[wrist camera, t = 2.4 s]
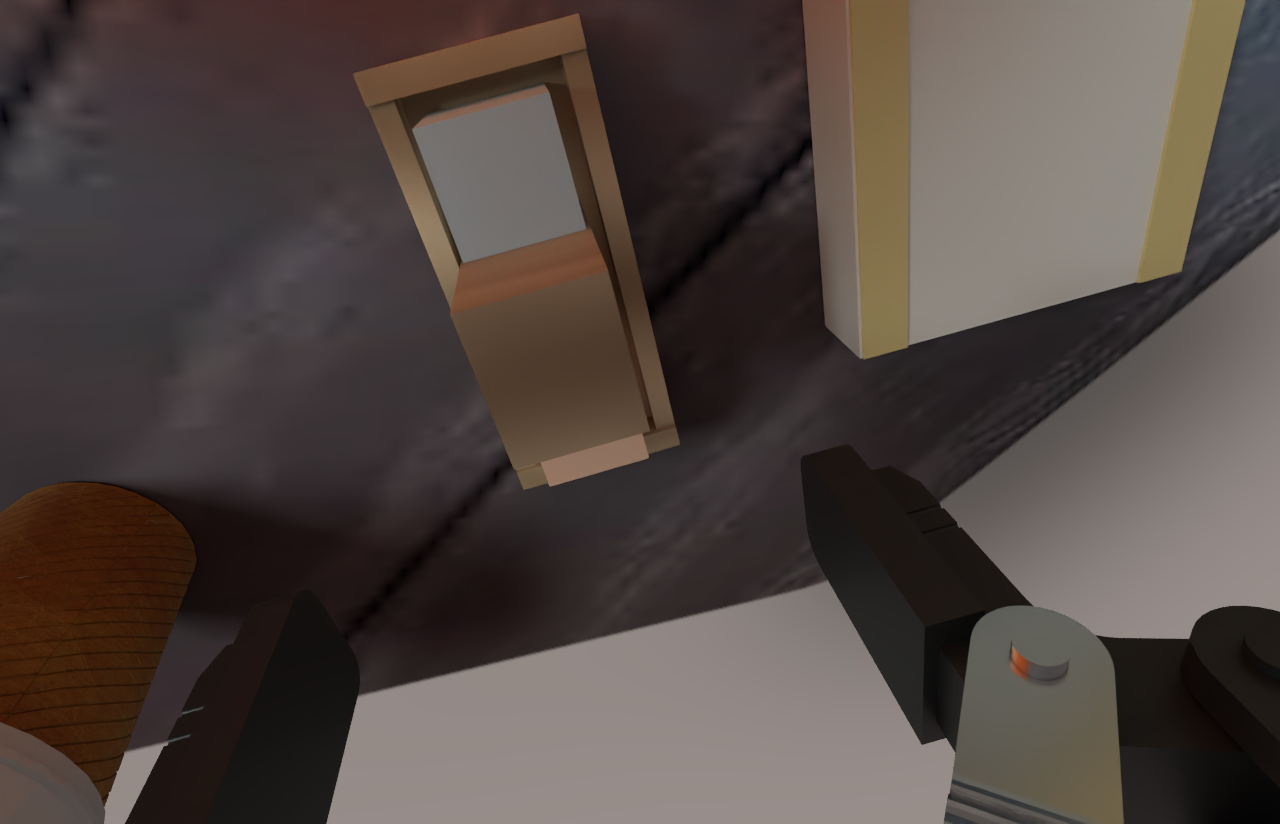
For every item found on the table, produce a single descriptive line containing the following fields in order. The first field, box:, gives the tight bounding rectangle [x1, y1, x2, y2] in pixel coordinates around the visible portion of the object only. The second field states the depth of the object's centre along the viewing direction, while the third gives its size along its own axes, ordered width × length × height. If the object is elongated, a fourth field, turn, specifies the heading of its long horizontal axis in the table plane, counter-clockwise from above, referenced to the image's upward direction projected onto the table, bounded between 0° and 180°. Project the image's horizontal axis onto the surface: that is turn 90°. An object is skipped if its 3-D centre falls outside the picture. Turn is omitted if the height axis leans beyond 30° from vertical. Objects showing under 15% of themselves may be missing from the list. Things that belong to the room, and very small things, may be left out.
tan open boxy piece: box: [353, 13, 680, 490], centre depth 19 cm, size 14×6×8 cm, turn 13°
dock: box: [802, 0, 1245, 359], centre depth 21 cm, size 12×12×3 cm
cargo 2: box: [540, 433, 649, 486], centre depth 22 cm, size 3×3×3 cm
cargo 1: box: [412, 83, 586, 263], centre depth 18 cm, size 3×3×3 cm
